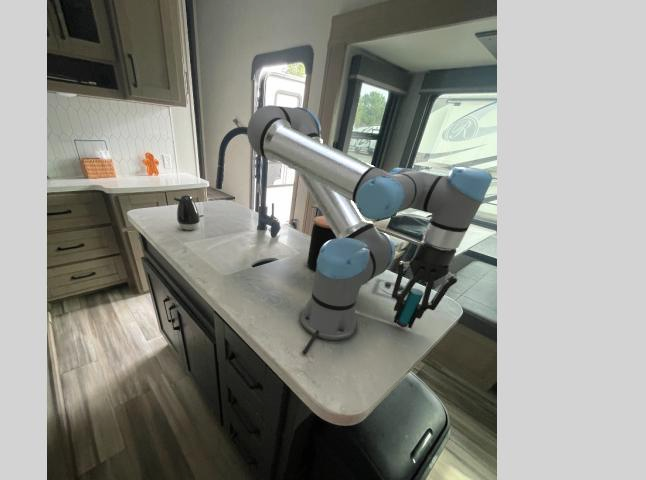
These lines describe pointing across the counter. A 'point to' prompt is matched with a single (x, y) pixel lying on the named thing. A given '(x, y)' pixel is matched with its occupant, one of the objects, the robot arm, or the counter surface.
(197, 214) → the pump dispenser
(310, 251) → the coffee jar
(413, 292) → the dot marker
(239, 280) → the counter surface
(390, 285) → the eye dot
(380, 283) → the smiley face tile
